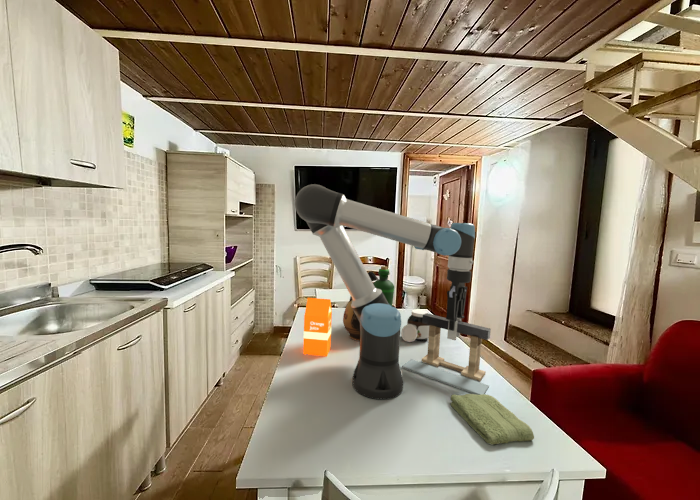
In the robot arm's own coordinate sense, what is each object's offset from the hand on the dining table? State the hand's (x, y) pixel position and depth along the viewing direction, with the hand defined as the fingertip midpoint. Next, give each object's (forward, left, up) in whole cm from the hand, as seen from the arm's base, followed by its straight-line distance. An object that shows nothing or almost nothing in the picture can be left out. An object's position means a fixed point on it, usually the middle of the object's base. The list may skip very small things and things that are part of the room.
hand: (453, 337), depth 103 cm
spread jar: (+15, +21, -11) cm, 28 cm away
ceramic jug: (0, +40, -11) cm, 41 cm away
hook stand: (0, 0, -11) cm, 11 cm away
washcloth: (-22, -17, -11) cm, 30 cm away
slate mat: (-8, 0, -11) cm, 14 cm away
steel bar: (0, 0, +3) cm, 3 cm away
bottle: (+21, +42, -11) cm, 48 cm away
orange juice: (-22, +43, -11) cm, 49 cm away
